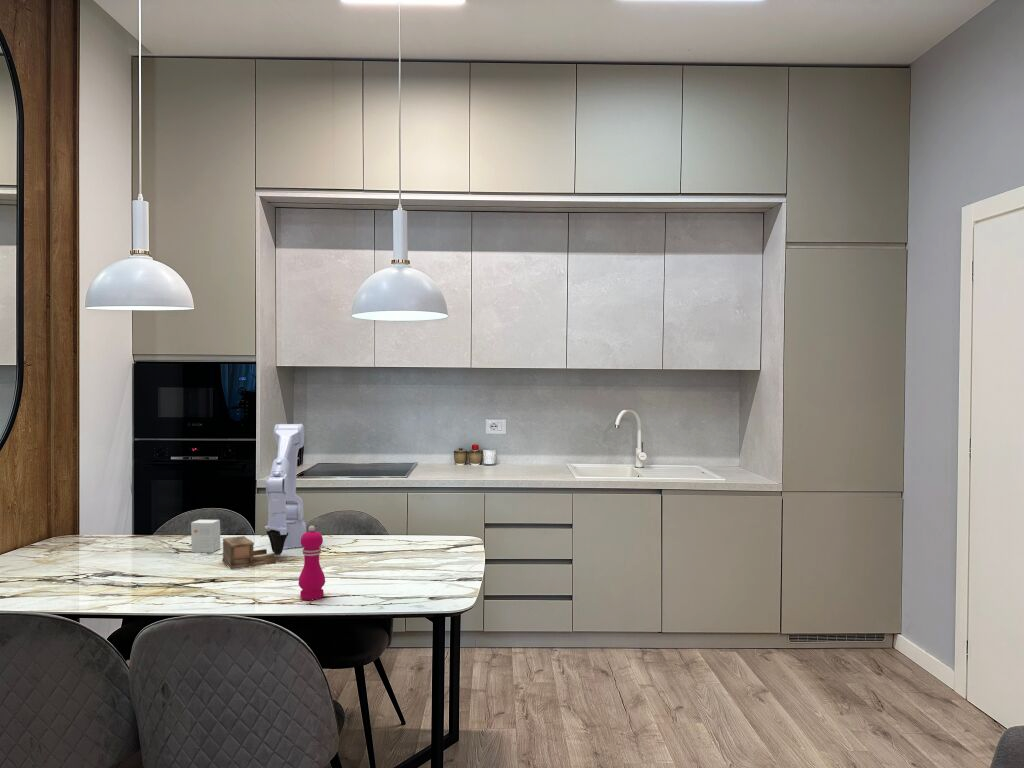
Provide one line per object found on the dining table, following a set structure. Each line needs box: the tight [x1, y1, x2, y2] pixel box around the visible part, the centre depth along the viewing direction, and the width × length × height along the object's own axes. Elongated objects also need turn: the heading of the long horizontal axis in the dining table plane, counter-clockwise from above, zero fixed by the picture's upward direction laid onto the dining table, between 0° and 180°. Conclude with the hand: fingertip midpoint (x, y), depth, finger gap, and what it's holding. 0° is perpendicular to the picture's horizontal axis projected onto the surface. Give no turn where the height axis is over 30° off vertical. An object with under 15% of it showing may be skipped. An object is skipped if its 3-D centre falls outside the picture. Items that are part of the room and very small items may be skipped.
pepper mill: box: [298, 525, 326, 601], centre depth 209 cm, size 7×7×20 cm
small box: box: [190, 519, 221, 553], centre depth 264 cm, size 8×6×10 cm
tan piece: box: [234, 545, 282, 560], centre depth 249 cm, size 16×6×5 cm, turn 124°
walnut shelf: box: [222, 535, 277, 570], centre depth 248 cm, size 14×12×8 cm
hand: (277, 552), depth 253 cm, fingers closed on tan piece, 2 cm apart
